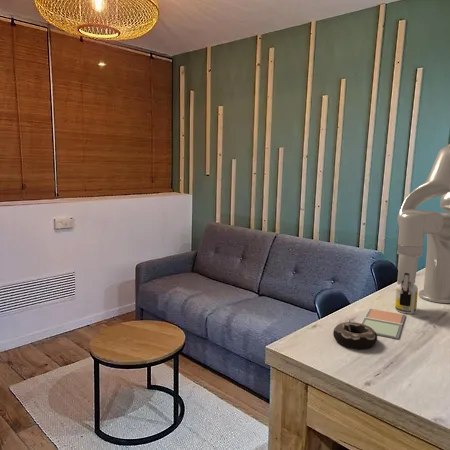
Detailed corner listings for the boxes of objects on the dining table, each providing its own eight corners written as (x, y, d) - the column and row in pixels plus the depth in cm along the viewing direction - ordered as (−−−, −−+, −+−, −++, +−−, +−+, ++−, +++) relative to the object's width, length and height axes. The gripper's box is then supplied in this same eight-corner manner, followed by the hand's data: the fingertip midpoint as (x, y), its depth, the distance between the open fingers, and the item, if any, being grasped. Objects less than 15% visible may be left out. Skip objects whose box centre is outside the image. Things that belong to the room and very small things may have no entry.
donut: (381, 339, 111) (381, 325, 111) (370, 355, 102) (371, 341, 101) (340, 329, 118) (340, 317, 117) (327, 344, 108) (327, 330, 107)
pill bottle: (411, 307, 135) (414, 275, 133) (419, 314, 129) (421, 280, 127) (392, 307, 136) (394, 274, 134) (398, 314, 129) (401, 280, 128)
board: (370, 309, 133) (370, 307, 133) (405, 316, 128) (405, 313, 127) (357, 331, 116) (358, 328, 116) (398, 339, 110) (398, 336, 110)
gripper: (400, 244, 138) (397, 292, 141) (394, 253, 123) (390, 308, 126) (424, 246, 135) (420, 296, 137) (420, 256, 120) (416, 312, 122)
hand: (406, 301), depth 132 cm, fingers open, 6 cm apart
